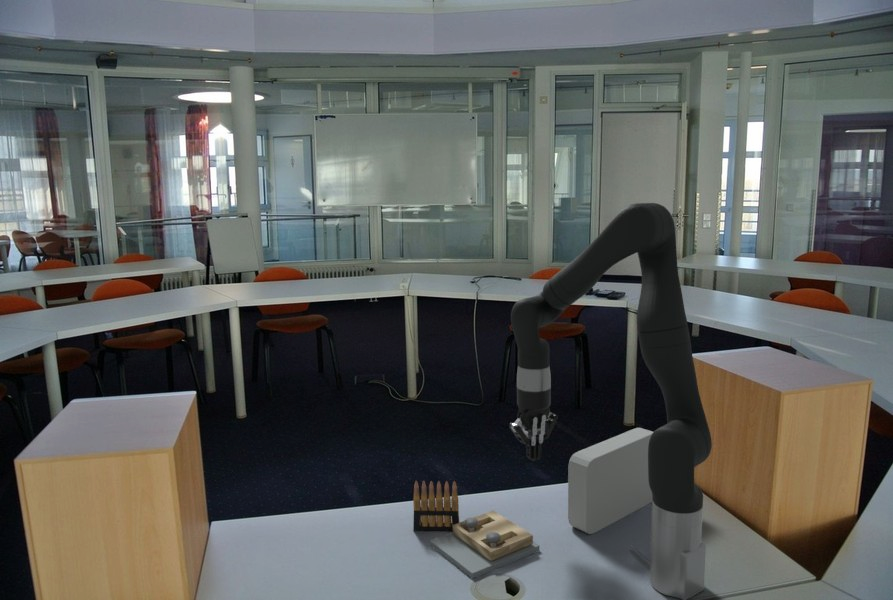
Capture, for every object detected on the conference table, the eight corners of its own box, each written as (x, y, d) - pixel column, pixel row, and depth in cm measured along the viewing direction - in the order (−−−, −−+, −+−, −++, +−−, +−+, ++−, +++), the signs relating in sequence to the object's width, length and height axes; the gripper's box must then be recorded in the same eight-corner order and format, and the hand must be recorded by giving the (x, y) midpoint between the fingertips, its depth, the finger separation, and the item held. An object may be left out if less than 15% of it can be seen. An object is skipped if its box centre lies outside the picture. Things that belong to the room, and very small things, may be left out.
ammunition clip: (413, 531, 154) (411, 482, 152) (414, 527, 156) (412, 479, 154) (459, 531, 153) (458, 482, 151) (459, 527, 155) (458, 479, 153)
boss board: (539, 550, 144) (539, 530, 144) (472, 578, 134) (472, 556, 134) (494, 521, 157) (493, 502, 157) (430, 545, 148) (429, 525, 147)
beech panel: (532, 543, 144) (532, 535, 144) (490, 560, 138) (490, 552, 138) (493, 518, 156) (493, 510, 156) (452, 533, 150) (452, 525, 149)
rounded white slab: (633, 488, 173) (634, 422, 170) (659, 498, 167) (661, 430, 164) (559, 525, 155) (560, 452, 152) (585, 538, 149) (586, 462, 146)
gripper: (521, 394, 142) (522, 471, 144) (567, 383, 149) (567, 457, 152) (499, 386, 148) (500, 460, 151) (544, 376, 155) (544, 447, 158)
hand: (533, 458), depth 151 cm, fingers closed
